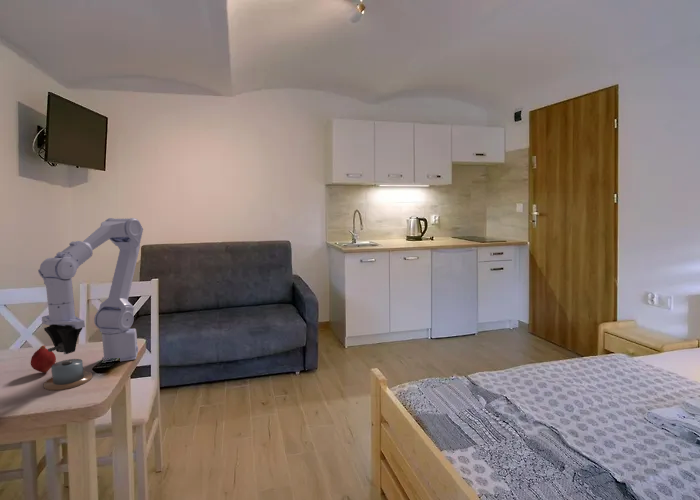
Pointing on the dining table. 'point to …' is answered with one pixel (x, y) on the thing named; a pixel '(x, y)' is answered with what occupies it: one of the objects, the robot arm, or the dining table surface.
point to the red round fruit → (43, 360)
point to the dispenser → (67, 375)
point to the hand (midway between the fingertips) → (65, 351)
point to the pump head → (59, 347)
